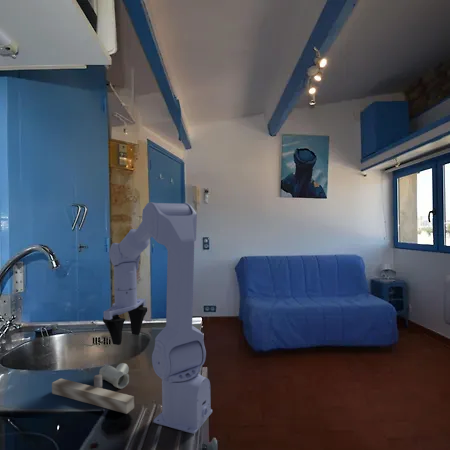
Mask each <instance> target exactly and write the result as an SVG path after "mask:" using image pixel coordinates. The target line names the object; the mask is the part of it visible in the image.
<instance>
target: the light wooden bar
mask: <svg viewBox="0 0 450 450" xmlns="http://www.w3.org/2000/svg"><path fill="white" fill-rule="evenodd" d="M51 394H52V395H57V396H61V397H63V398H68V399H71V400H75V401H78V402H82V403H86V404H89V405H94V406H97V407H100V408H104V409H108V410H111V411H115V412H118V413H122V414H125V415H127V414H129V413H130V412H131V411H133V409H135V396H134V395H129V394H127V393H122V392H117V391H114V390H110V389H106V388H103V379H102V375H99V374H96V375H94V376H93V385H89V384H86V383H81V382H78V381H77V382H76V381H74V380H69V379H64V378H61V377H60V378H59V379H57V380H55V381H53V382H51Z"/></svg>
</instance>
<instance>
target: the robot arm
mask: <svg viewBox="0 0 450 450" xmlns="http://www.w3.org/2000/svg"><path fill="white" fill-rule="evenodd" d="M141 214H142V215H141V217H142V218H141V219H142V221H141V223H140V224H139V225H138V227H137V228H131V229H130V230H129V232H127V234H125V236H124V238H122V240H121V241H120V242H119V243H118V242H112V244H111V246H110V247H109V248H110V249H109V259H110V262H111V264H112V266H113V276H114V277H113V279H114V280H113V284H114V286H113V287H114V293H113V294H114V303H112V305H111V307H109V308H108V309H106V310H104V311H103V317H102V322H103V324H104V325H105V326H106V328H107V330H108V332H109V335H110V339H111V341H112V342H111V343H112V344H113V345H115V346H119V345H121V344H122V340H123V328H124V324H125V321H126V318H124V317H123V318H121V317H120V316H121V315H122V314H125V313H128V317H129V321H130V329H131V330H130V331H131V334H132V335H134V336H135V335H136V336H139V335H140V334H141V329H142V325H143V322H144V318H145V316H146V314H147V312H148V307H147V306H146V305H147V303H146V298H142V297H141V298H140V297H139V298H138V289H137V288H138V284H137V283H138V282H137V281H138V280H137V271H138V270H139V262H140V259H141V254H142V253H143V252H144V251H145V250H146V249H147V248H148V247H149V245H150V239H151V238H153V240H155V242H156V243H158V244H160V245H163V246H164V247H165V249H166V250H167V264H166V265H167V269H166V271H167V272H166V273H167V274H166V310H165V312H166V315H165V318H166V319H165V327H163V329H162V330H161V331H160V332H159V333H158V334H157V335H156V337H155V338H154V348H153V351H152V354H151V364H152V368H153V371H154V373H155V375H157V377H159V378H160V379H161V399H162V401H161V403H162V407H161V408H162V412H160V413H159V414H158V415H157V416H156V417H155V418H154V419H153V423H154V424H157V425H160V426H161V425H162V426H164V427H169V428H172V429H174V430H179V431H182V432H186V433H190V434H196V433H197V432H198V431H199V429H201V427H202V426H203V425H204V423H205V422H206V421H207V419H208V418H209V417H210V416H211V414H212V413H213V409H212V407H211V399H212V398H211V395H212V394H211V382H210V379H209V378H207V377H205V376H203V375H202V374H200V372H201V367H202V366H203V365H204V364H205V362H206V358H207V351H206V350H207V349H206V347H205V342H204V334H203V332H202V331H201V330H200V329H198V328H197V327H195V326H194V325H193V311H194V310H193V309H194V303H193V302H194V275H195V274H194V273H195V272H194V270H195V268H194V265H195V242H196V241H197V223H198V222H197V220H198V219H197V218H198V213H197V212H196V211H195V209H194V208H193V206H192V205H191V204H190V203H188V202H183V203H173V202H170V203H169V202H168V203H167V202H166V203H165V202H151V201H149V202H147V203H146V204H145V206H144V207H143V209H142V212H141Z"/></svg>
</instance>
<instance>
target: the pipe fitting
mask: <svg viewBox="0 0 450 450" xmlns="http://www.w3.org/2000/svg"><path fill="white" fill-rule="evenodd" d="M129 371H130V367H129V366H128V364H127V363H124V362H122V363H121V362H120V363H119V364H117V366H116V367H115V366H112V365H110V364H107V363H106V364H105V365H103V366H102V367H100V369H99V372H98V373H99V374H98V375H102V381H103V380H104V381H107V382H108V383H109V384H111V385H113V387H114V388H116V389H117V388H118V389H119V390H120V389H121V390H122V389H125V388H126V387H127V386H128V384H129V382H130V375H129Z"/></svg>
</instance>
